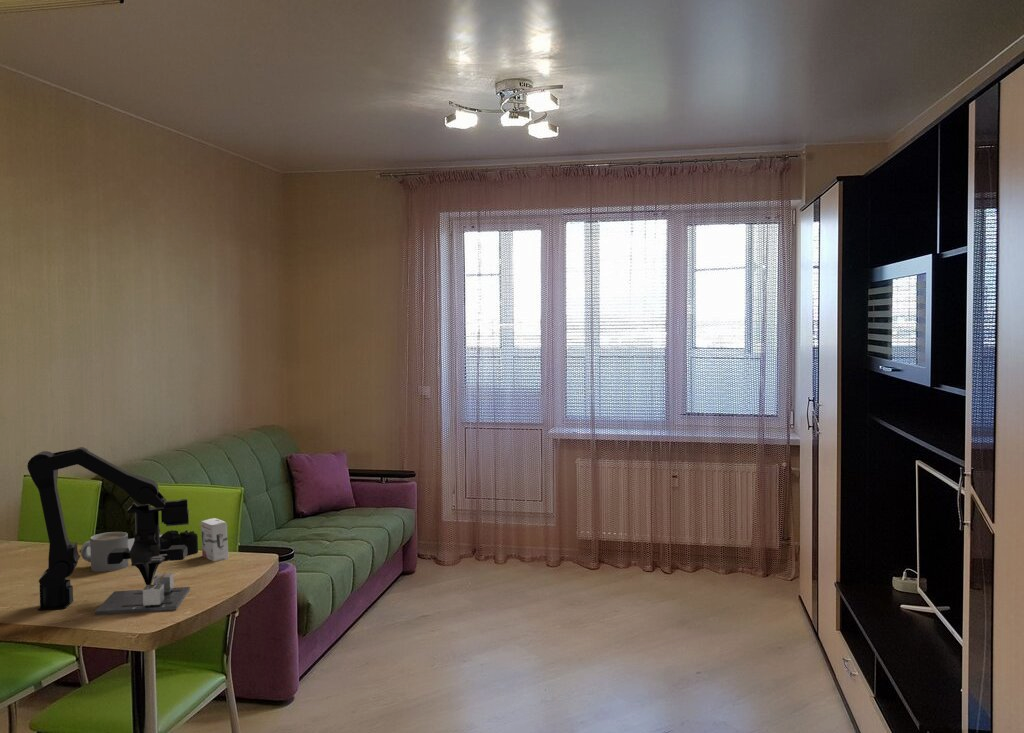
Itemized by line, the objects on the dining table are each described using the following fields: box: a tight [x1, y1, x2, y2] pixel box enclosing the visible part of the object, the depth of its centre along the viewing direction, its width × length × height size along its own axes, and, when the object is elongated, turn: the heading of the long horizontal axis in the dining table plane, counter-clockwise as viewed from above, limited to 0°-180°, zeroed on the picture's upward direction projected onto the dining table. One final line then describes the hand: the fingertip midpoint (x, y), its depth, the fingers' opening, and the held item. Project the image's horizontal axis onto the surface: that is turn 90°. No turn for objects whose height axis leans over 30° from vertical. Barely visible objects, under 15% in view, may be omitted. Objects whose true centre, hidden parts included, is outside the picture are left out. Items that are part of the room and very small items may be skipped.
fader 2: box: [153, 572, 175, 592], centre depth 212 cm, size 4×4×4 cm
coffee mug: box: [80, 531, 129, 573], centre depth 238 cm, size 13×10×10 cm
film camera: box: [159, 529, 199, 562], centre depth 249 cm, size 15×10×9 cm, turn 140°
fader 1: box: [142, 583, 164, 606], centre depth 203 cm, size 4×4×4 cm
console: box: [94, 586, 191, 616], centre depth 207 cm, size 19×16×1 cm
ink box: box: [200, 517, 229, 562], centre depth 247 cm, size 9×5×12 cm, turn 45°
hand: (149, 586), depth 212 cm, fingers closed
